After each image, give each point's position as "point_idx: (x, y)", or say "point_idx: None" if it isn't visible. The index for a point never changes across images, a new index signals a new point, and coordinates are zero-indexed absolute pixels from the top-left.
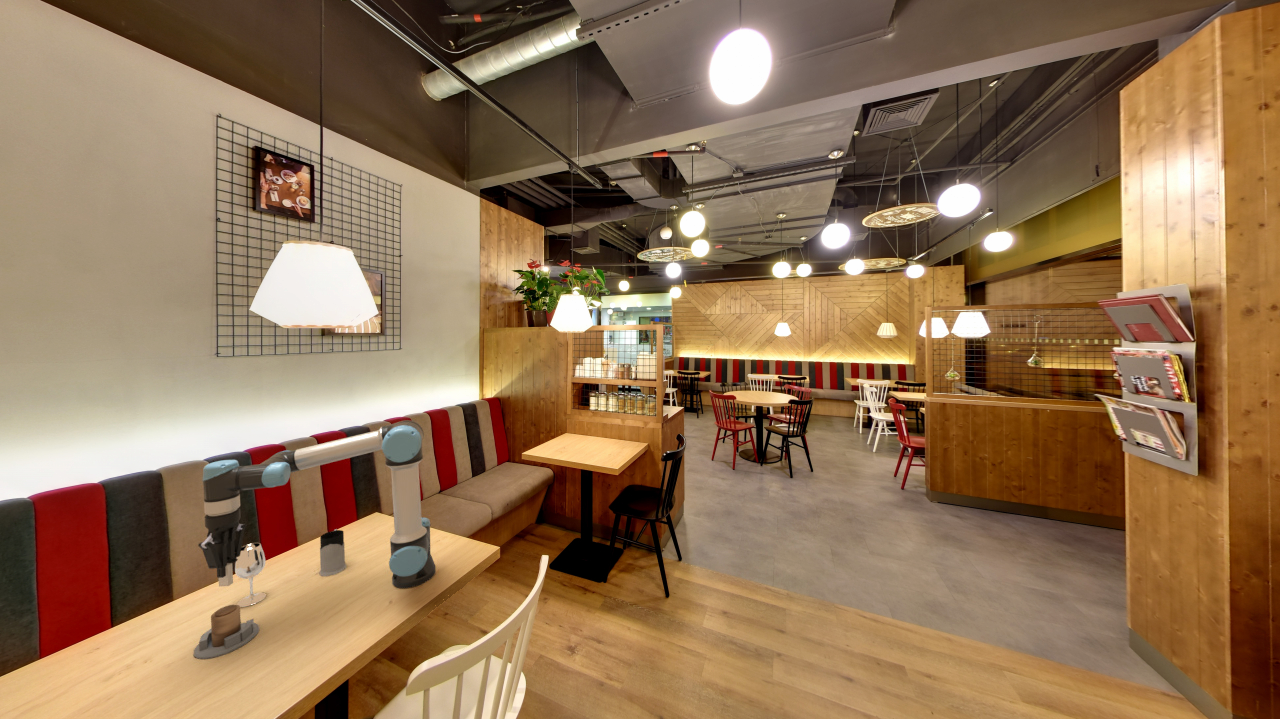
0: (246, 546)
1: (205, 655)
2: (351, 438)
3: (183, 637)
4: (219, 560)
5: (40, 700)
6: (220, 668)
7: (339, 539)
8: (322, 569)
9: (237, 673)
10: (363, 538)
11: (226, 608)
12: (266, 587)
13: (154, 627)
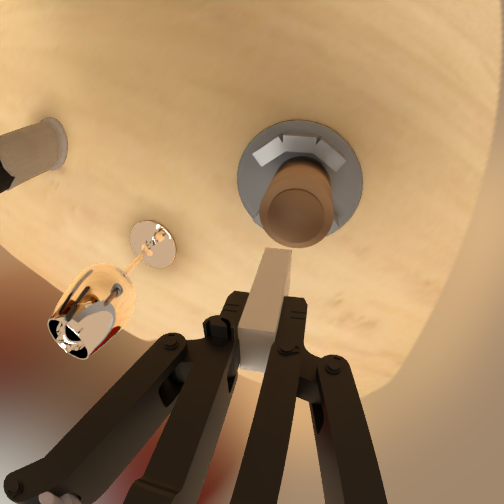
0: (69, 348)
1: (358, 190)
2: None
3: None
4: (328, 405)
5: (389, 365)
6: (401, 123)
7: None
8: (54, 155)
9: (422, 71)
10: None
11: (287, 220)
12: (114, 246)
13: None
